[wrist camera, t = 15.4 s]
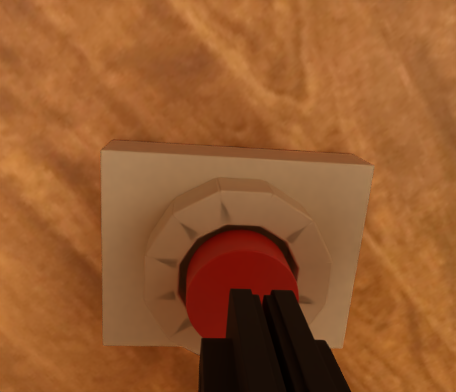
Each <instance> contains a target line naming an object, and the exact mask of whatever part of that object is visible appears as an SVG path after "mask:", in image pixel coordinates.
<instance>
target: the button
mask: <svg viewBox="0 0 456 392" xmlns="http://www.w3.org/2000/svg"><path fill="white" fill-rule="evenodd" d="M231 288H234V289H251V291H252V294H257V295H259V297H260V301H261V304H262V302H263V296H264V295H270V292H271V290H292V291H293V292H294V294H295V296H296V299H297V301H298V303H299V291H298V286H297V282H296V280H295V277H294V275H293V273H292V271H291V269H290V267H289V265H288V263H287V261H286V259H285V257H284V255H283V253H282V252H281V250H280V249H279V247H278V246H277V245H276V244H275V243H274V242H273V241H272V240H270V239H269V238H268V237H266V236H264V235H262V234H260V233H257V232H254V231H250V230H230V231H225V232H222V233H219V234H217V235H214V236H213V237H211V238H209V239H208V240H206V241H205V242H204V243H203V244H202V245H201V246H200V247H199V248H198V249H197V250H196V251H195V253H194V254H193V256H192V258H191V260H190V262H189V265H188V269H187V276H186V309H187V314H188V317H189V320H190V322H191V324H192V326H193V327H194V329H195V330H196V331H197V332H198V334H199V335H200V336H201V337H203V338H226V326H227V315H228V303H229V292H230V289H231Z"/></svg>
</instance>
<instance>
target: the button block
mask: <svg viewBox="0 0 456 392" xmlns="http://www.w3.org/2000/svg"><path fill="white" fill-rule="evenodd" d="M373 172H374V165H372V164H370V163H369V162H367V161H365V160H363V159H361V158H359V157H357V156H355V155H353V154H341V153H325V152H308V151H291V150H274V149H257V148H240V147H224V146H207V145H190V144H173V143H156V142H139V141H123V140H112V141H110V142H109V143H108V144H107V145H106V146H105V147H104V148H103V149H102V150H101V238H102V326H103V345H104V346H181V347H184V348H186V349H188V350H190V351H192V352H193V353H195V354H197V355H199V356H200V347H201V338H203V337H201V336H200V335H199V334H198V332H197V331H196V330H195V329H194V327H193V326H192V324H191V322H190V320H189V317H188V314H187V309H186V276H187V269H188V265H189V262H190V260H191V258H192V256H193V254H194V253H195V251H196V250H197V249H198V248H199V247H200V246H201V245H202V244H203V243H204V242H205V241H206V240H208V239H209V238H211V237H213V236H214V235H217V234H219V233H222V232H225V231H230V230H250V231H254V232H257V233H260V234H262V235H264V236H266V237H268V238H269V239H270V240H272V241H273V242H274V243H275V244H276V245H277V246H278V247H279V249H280V250H281V252H282V253H283V255H284V257H285V259H286V261H287V263H288V265H289V267H290V269H291V271H292V273H293V275H294V277H295V280H296V282H297V286H298V291H299V305H300V308H301V310H302V312H303V314H304V317H305V319H306V321H307V323H308V326H309V328H310V330H311V332H312V335H313V337H314V339H315V340H325V341H326V342H327V344H328V345H329V347H330V348H343V343H344V337H345V331H346V326H347V320H348V314H349V308H350V303H351V297H352V291H353V286H354V280H355V274H356V269H357V263H358V257H359V252H360V246H361V240H362V235H363V229H364V223H365V217H366V212H367V206H368V200H369V195H370V189H371V183H372V178H373Z"/></svg>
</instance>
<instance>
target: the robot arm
mask: <svg viewBox="0 0 456 392" xmlns="http://www.w3.org/2000/svg"><path fill="white" fill-rule="evenodd" d="M198 392H351V391H350V389H349V386H348V384H347V382H346V380H345V378H344V376H343V374H342V372H341V370H340V368H339V366H338V364H337V362H336V360H335V358H334V356H333V354H332V351H331V349H330V347H329V345H328V344H327V342H326V341H325V340H315V339H314V337H313V335H312V332H311V330H310V328H309V326H308V323H307V321H306V319H305V317H304V314H303V312H302V310H301V308H300V305H299V303H298V301H297V299H296V296H295V294H294V292H293V291H292V290H271V292H270V295H264V296H263V302H262V304H261V301H260V297H259V295H257V294H252V291H251V289H234V288H231V289H230V292H229V303H228V315H227V326H226V338H201V347H200V362H199V390H198Z"/></svg>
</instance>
